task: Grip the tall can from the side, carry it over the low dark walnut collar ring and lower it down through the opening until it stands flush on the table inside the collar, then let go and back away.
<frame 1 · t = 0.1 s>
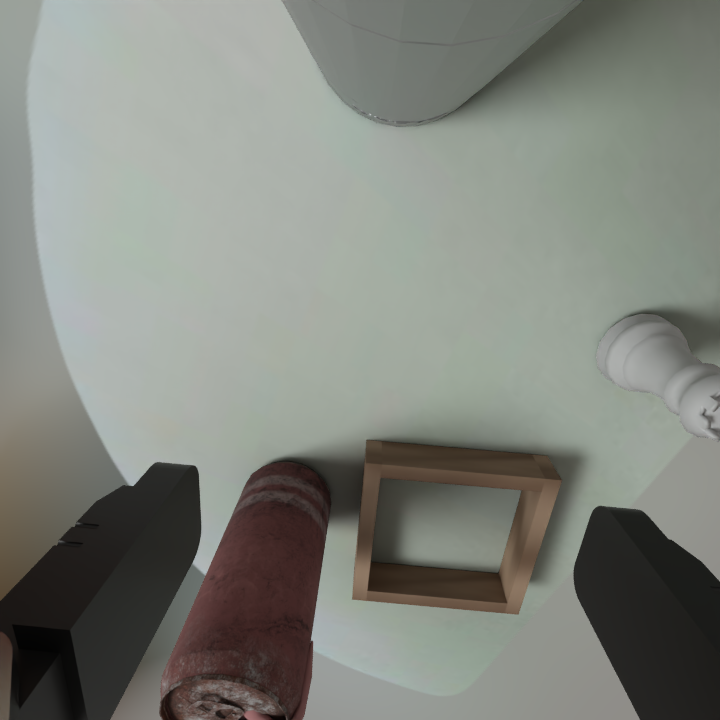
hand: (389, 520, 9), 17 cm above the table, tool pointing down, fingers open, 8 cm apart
can: (291, 490, 31), on the table
rook chess piece: (629, 346, 25), on the table
walnut collar: (443, 517, 31), on the table
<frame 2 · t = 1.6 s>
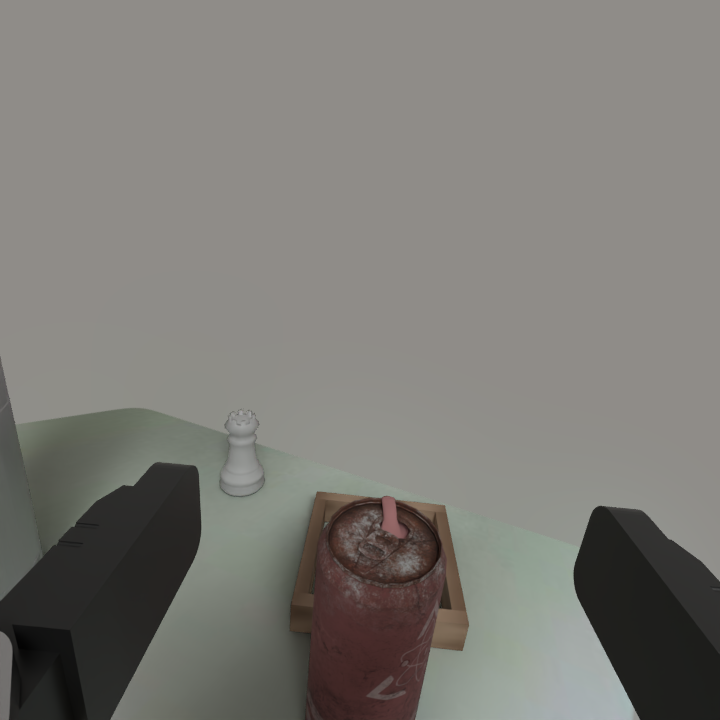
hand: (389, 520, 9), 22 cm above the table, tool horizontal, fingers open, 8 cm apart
rook chess piece: (242, 486, 44), on the table
walnut collar: (377, 570, 35), on the table
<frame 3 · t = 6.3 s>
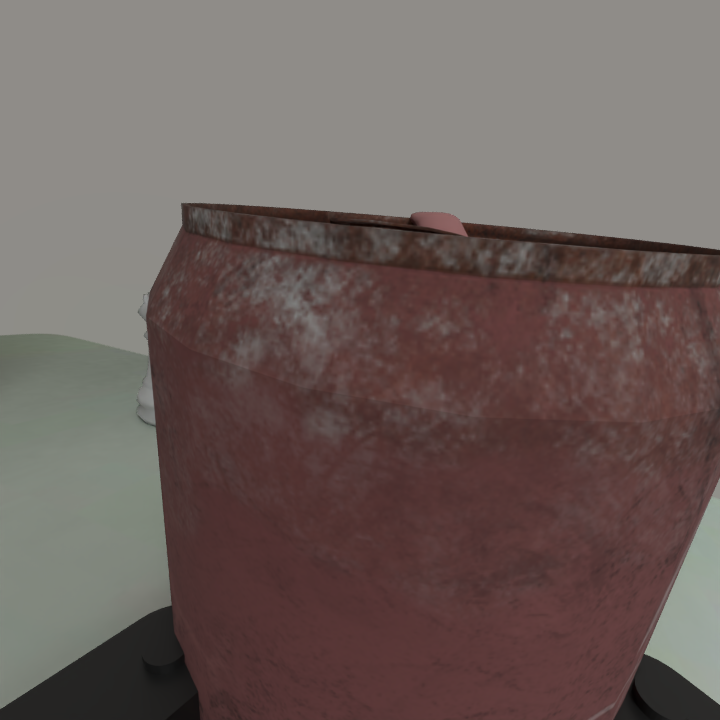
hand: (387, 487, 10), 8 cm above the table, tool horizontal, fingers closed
rook chess piece: (174, 416, 29), on the table
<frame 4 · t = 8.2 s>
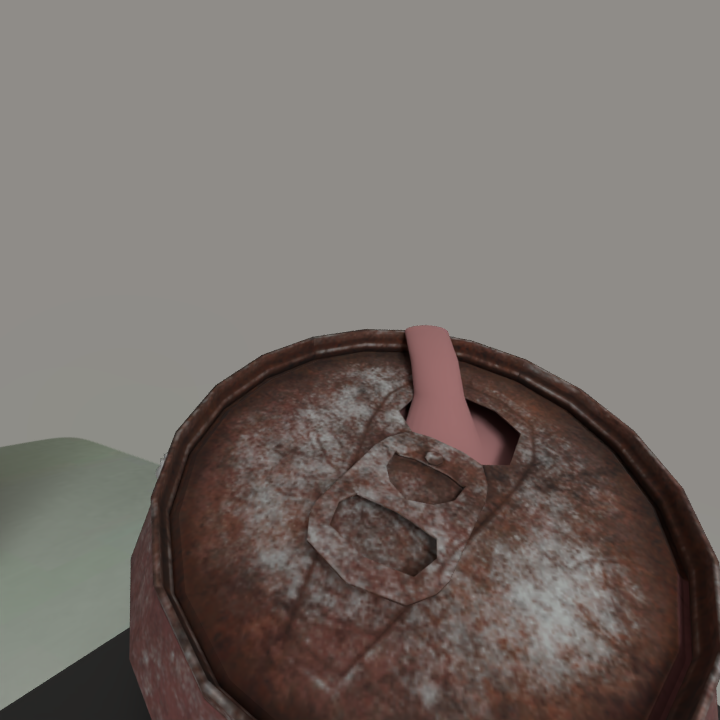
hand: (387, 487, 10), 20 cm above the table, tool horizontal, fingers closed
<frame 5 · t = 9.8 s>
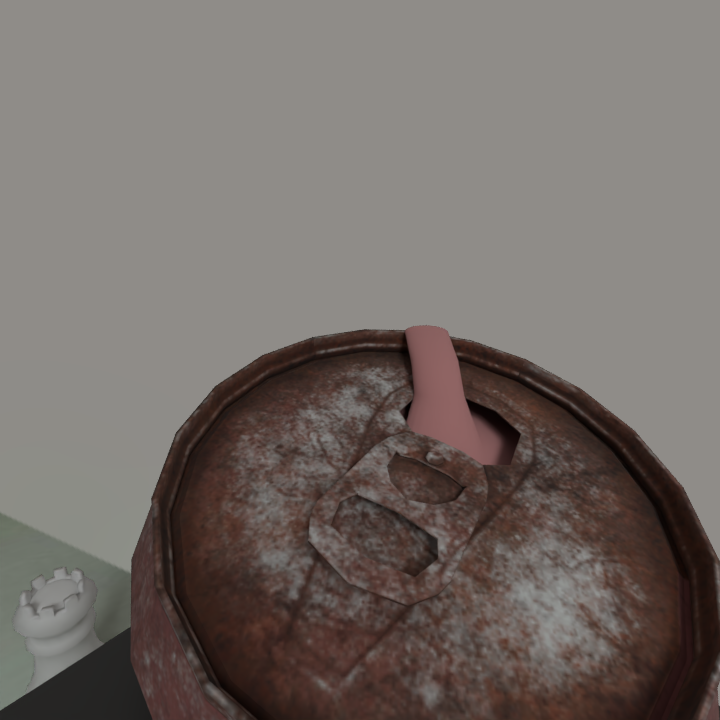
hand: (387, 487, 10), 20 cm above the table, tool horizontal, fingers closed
rook chess piece: (78, 705, 22), on the table
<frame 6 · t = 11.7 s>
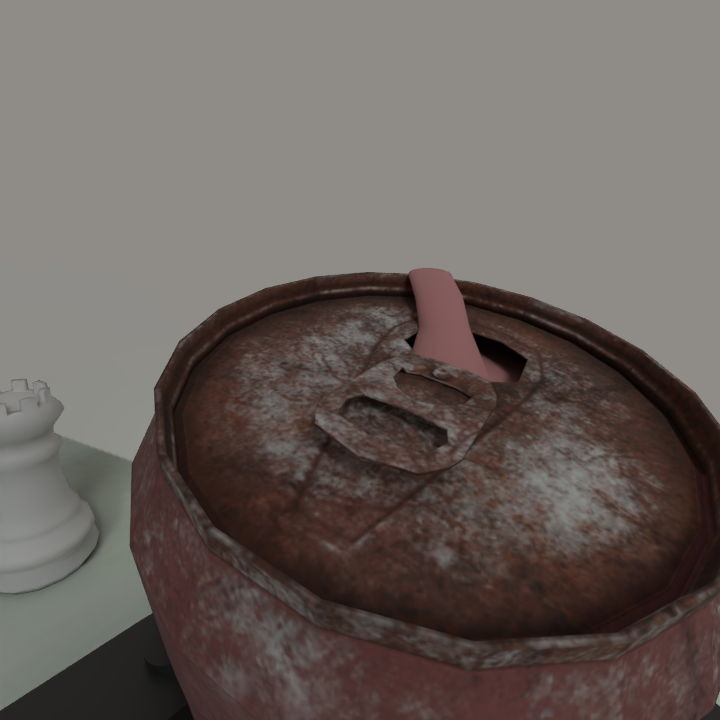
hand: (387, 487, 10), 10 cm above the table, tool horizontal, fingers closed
rook chess piece: (42, 561, 19), on the table
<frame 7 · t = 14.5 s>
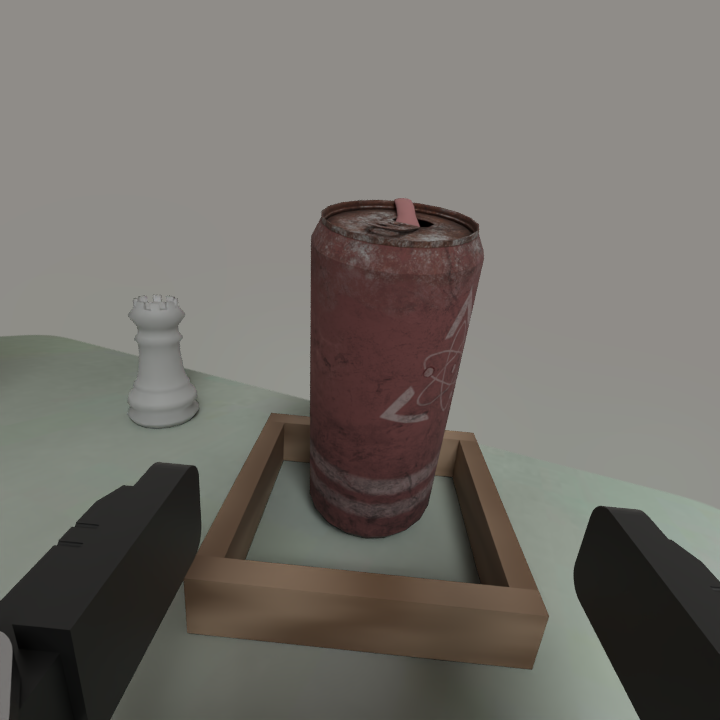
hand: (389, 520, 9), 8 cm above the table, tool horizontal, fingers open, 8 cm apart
can: (368, 492, 22), resting in walnut collar
rook chess piece: (165, 417, 29), on the table
walnut collar: (364, 528, 20), on the table
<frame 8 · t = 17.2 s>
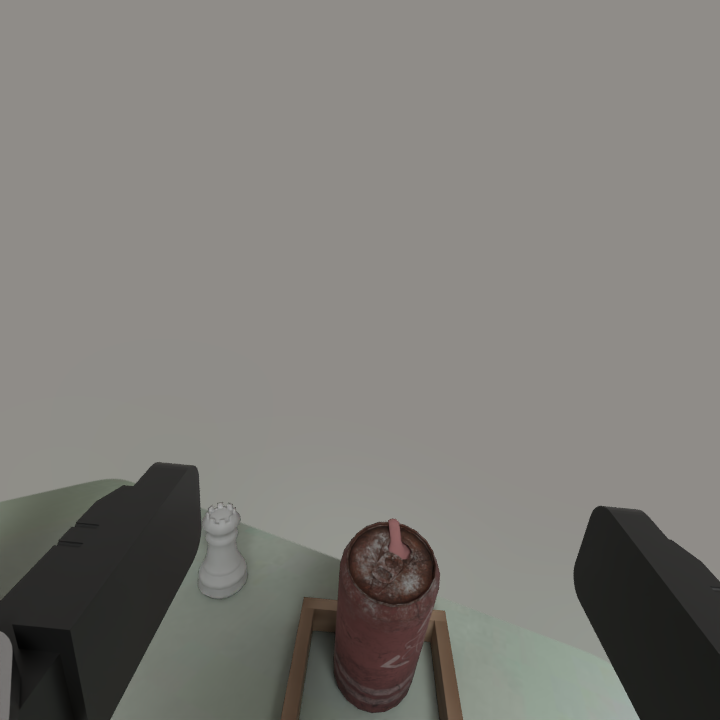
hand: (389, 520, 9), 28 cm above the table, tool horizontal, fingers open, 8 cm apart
can: (372, 666, 33), resting in walnut collar
rook chess piece: (223, 583, 40), on the table
walnut collar: (370, 700, 31), on the table
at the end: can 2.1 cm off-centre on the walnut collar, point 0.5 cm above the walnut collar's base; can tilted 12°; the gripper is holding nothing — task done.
